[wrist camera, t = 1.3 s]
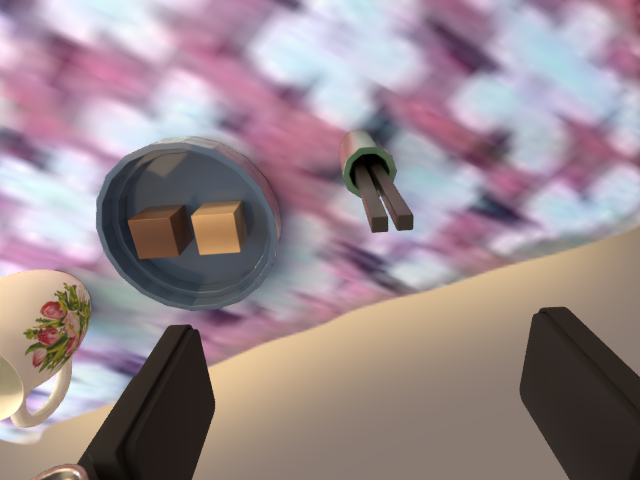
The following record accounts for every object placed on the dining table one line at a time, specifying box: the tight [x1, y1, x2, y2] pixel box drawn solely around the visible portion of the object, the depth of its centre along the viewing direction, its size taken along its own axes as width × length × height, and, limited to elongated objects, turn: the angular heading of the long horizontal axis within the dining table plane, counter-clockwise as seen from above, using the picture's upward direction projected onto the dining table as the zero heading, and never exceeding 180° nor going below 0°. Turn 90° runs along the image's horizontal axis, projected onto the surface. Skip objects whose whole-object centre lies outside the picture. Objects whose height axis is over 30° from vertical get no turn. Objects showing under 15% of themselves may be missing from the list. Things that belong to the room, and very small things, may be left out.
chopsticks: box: [352, 154, 413, 233], centre depth 27 cm, size 1×2×20 cm, turn 95°
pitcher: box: [0, 270, 91, 428], centre depth 38 cm, size 11×18×14 cm, turn 6°
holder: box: [339, 130, 397, 198], centre depth 32 cm, size 4×4×10 cm
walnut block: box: [128, 205, 192, 259], centre depth 38 cm, size 4×4×4 cm
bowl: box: [96, 137, 281, 311], centre depth 38 cm, size 17×17×4 cm
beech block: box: [191, 200, 248, 255], centre depth 37 cm, size 4×4×4 cm
